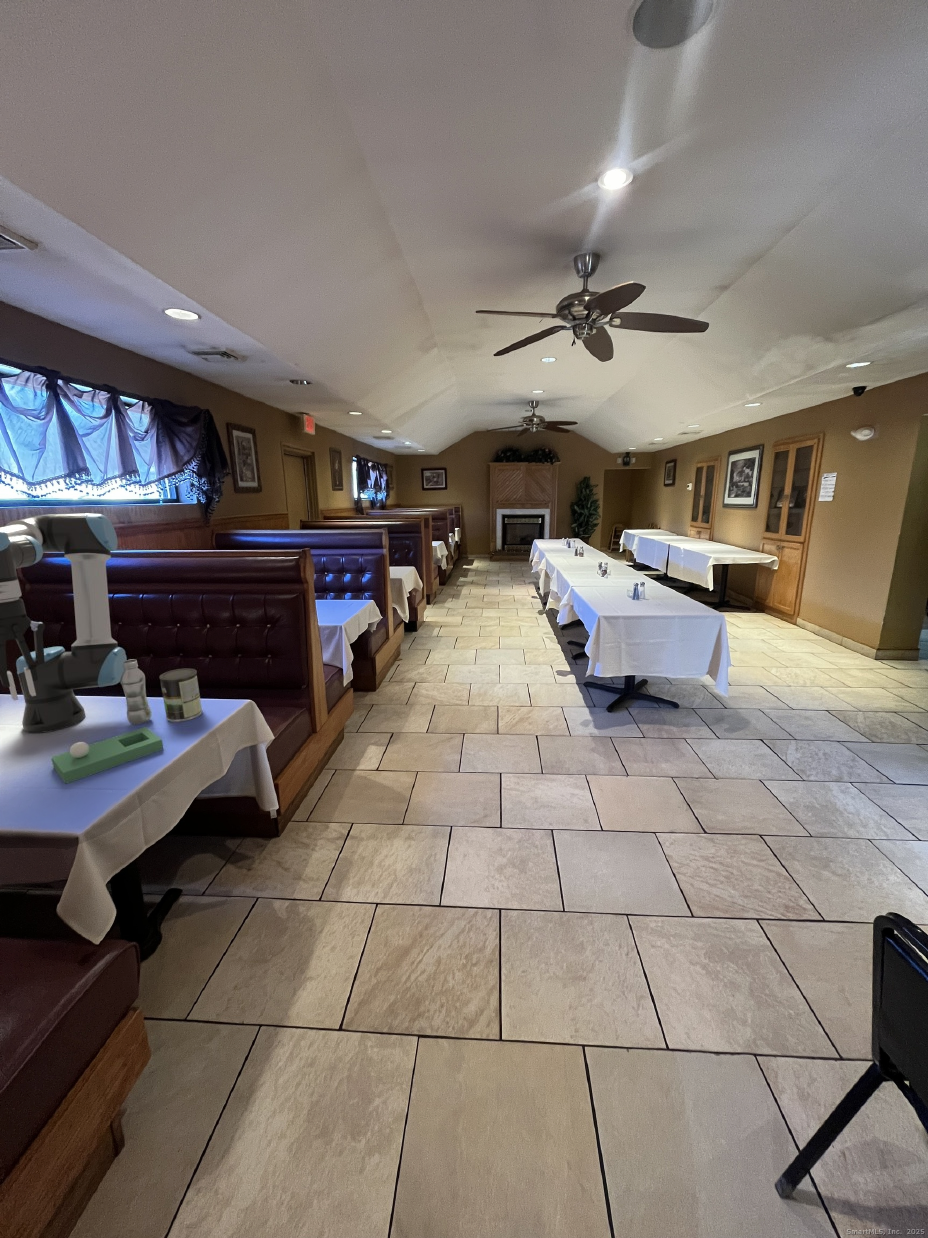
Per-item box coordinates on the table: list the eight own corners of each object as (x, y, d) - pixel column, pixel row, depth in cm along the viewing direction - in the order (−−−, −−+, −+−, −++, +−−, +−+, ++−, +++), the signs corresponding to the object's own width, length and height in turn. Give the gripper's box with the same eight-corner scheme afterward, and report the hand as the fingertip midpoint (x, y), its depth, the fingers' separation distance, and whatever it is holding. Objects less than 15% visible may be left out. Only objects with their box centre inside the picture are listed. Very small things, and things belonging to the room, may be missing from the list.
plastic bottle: (127, 729, 150) (115, 666, 145) (129, 720, 156) (117, 660, 151) (152, 724, 153) (141, 662, 148) (153, 715, 159) (142, 656, 154)
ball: (69, 757, 128) (66, 743, 127) (88, 751, 131) (85, 737, 130) (73, 762, 126) (70, 748, 125) (92, 756, 129) (89, 742, 128)
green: (53, 767, 129) (51, 757, 129) (147, 736, 146) (146, 726, 145) (65, 784, 122) (63, 773, 121) (163, 749, 138) (161, 739, 137)
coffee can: (166, 724, 153) (158, 682, 149) (166, 712, 161) (159, 671, 158) (203, 717, 158) (197, 675, 154) (202, 705, 166) (196, 666, 163)
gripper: (-47, 608, 104) (-19, 711, 110) (48, 596, 115) (68, 690, 121) (-51, 603, 108) (-24, 703, 114) (40, 592, 120) (60, 683, 126)
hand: (24, 696), depth 118 cm, fingers open, 3 cm apart
